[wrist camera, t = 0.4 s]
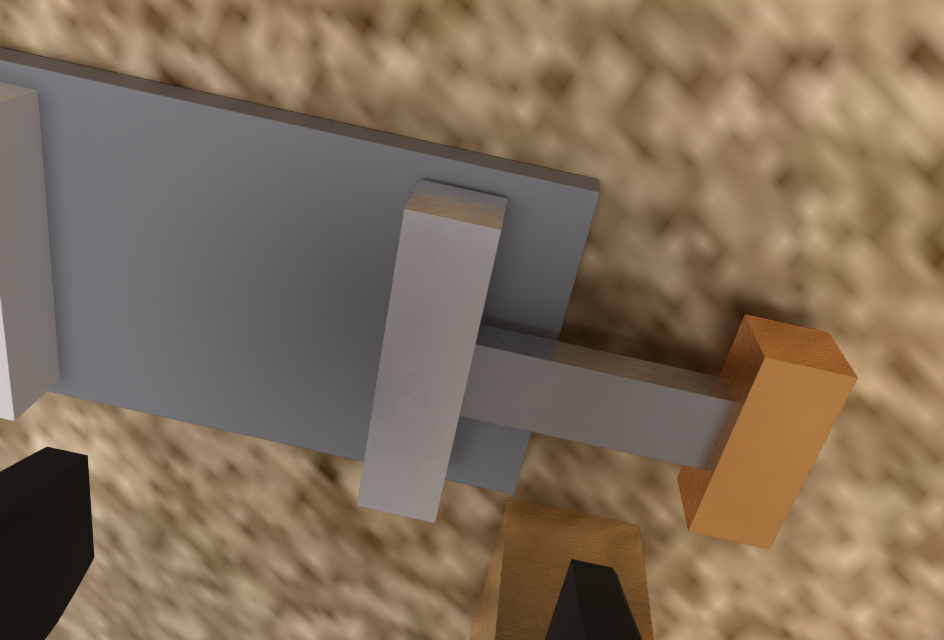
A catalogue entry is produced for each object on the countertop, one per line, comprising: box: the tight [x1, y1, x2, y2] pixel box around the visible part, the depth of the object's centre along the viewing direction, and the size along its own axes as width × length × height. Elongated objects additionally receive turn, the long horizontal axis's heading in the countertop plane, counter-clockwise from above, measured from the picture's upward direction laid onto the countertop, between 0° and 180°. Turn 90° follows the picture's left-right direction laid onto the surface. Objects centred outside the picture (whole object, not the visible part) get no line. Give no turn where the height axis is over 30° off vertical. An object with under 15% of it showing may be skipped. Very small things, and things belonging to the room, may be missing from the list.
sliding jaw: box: [357, 179, 858, 549], centre depth 18 cm, size 8×10×2 cm
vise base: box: [0, 47, 600, 495], centre depth 19 cm, size 9×16×3 cm, turn 79°
